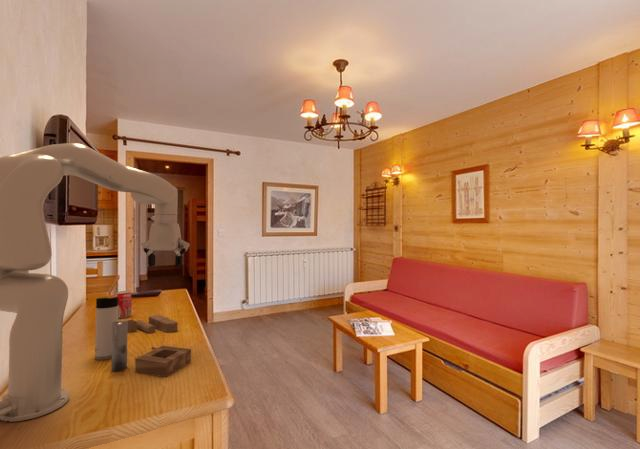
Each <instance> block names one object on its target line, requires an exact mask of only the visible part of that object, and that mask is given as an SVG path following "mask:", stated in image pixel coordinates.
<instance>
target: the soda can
mask: <svg viewBox="0 0 640 449" xmlns="http://www.w3.org/2000/svg"><path fill="white" fill-rule="evenodd" d="M114 297H118V320H119V319H120V320H121V319H127V318H129V317H130V316H131V315H132V307H133V306H132V303H133V302H132V300H133V299H132V298H133V297H132V293H131V291H130V290H119V291H116V293H115V295H114Z"/></svg>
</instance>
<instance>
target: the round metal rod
mask: <svg viewBox="0 0 640 449" xmlns="http://www.w3.org/2000/svg"><path fill="white" fill-rule="evenodd" d="M127 332H128V321H127V320H118V321H117V322H114V323H112V358H111V368H110V369H111V372H122V371H124V370H127V368H128V333H127Z"/></svg>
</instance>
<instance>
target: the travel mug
mask: <svg viewBox="0 0 640 449" xmlns="http://www.w3.org/2000/svg"><path fill="white" fill-rule="evenodd" d="M95 304H96V305H95V327H94V328H95V332H94V333H95V334H94V336H95V338H94V344H95V345H94V346H95V347H94V358H95V360H97V361H103V360H104V361H105V360H109V359H112V323H114V322H117V321H119V318H118V297H115V296H114V297H98V298H96V301H95Z"/></svg>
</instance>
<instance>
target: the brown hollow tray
mask: <svg viewBox="0 0 640 449" xmlns="http://www.w3.org/2000/svg"><path fill="white" fill-rule="evenodd" d="M190 361H191V362H192V349H191V348H186V347H179V346H178V347H177V346H168V345H161V346H158V348H157V349H152V350H151V351H148V352H146V353H144V354H141V355H140V356H138V357H136V358H135V361H134V364H135V365H134V368H135V369H134V370H135V371H134V373H138V374H140V373H141V374H144V375H145V374H146V375H152V376H159V377H163V378H164V377H165V378H167V377H168V376H170V375H171V374H173V373H175V372H177V371H178V370H180V369H182V368H183V367H184V365H185V366H186V365H189V364H190V363H191V362H190ZM189 362H190V363H189Z"/></svg>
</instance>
